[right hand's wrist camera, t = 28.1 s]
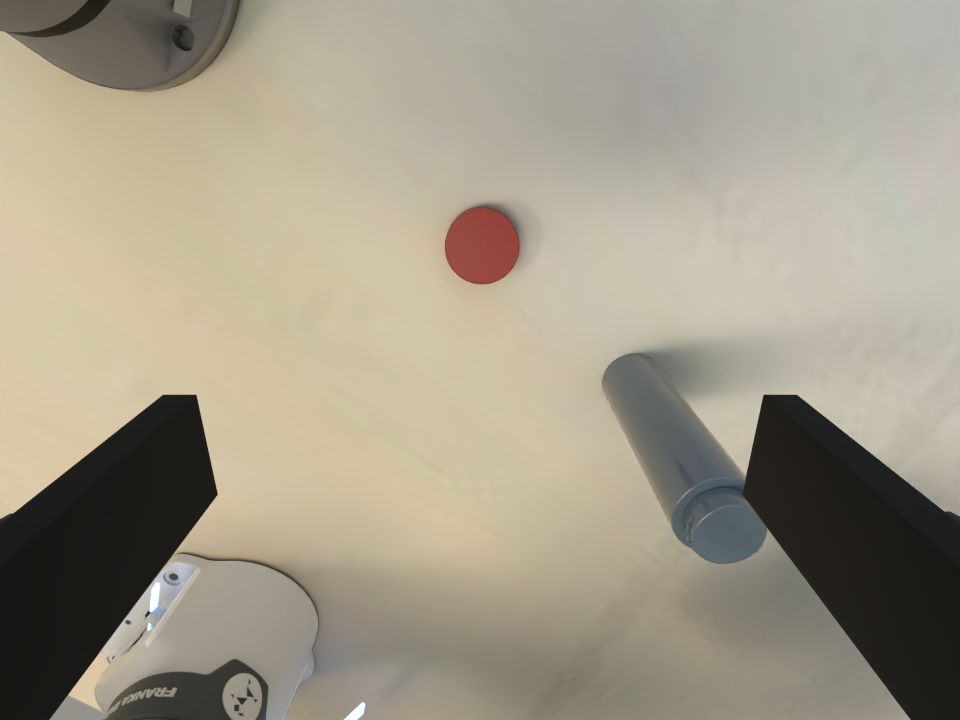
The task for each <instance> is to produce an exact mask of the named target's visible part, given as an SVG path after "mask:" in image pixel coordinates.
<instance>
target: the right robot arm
mask: <svg viewBox="0 0 960 720" xmlns="http://www.w3.org/2000/svg"><path fill="white" fill-rule="evenodd" d="M238 1H239V0H0V31H4V32H6V33H8V34H9V35H11V36H12V37H14V38H15V39H16V40H18V41H19V42H21V43H22V44H24V45H25V46H27V47H28V48H30V49H31V50H33V51H34V52H36V53H37V54H39V55H40V56H42V57H43V58H44V59H46V60H47V61H49V62H50V63H52V64H53V65H55V66H57V67H58V68H60V69H62V70H64V71H66V72H68V73H70V74H72V75H74V76H76V77H78V78H80V79H83V80H85V81H88V82H90V83H93V84H97V85H100V86H104V87H109V88H114V89H121V90H128V91H137V92H150V91H159V90H164V89H168V88H172V87H175V86H177V85H180V84H182V83H184V82H186V81H188V80H190V79H192V78H193V77H195V76H196V75H198V74H199V73H200V72H201V71H203V70H204V69H205V68H206V67H207V66H208V65H209V64H210V63H211V62H212V61H213V60H214V58H215V57H216V56H217V54H218V53H219V52H220V50H221V49H222V47H223V45H224V43H225V42H226V40H227V38H228V35H229V33H230V31H231V28H232V26H233V22H234V19H235V16H236V11H237V6H238ZM217 495H218V494H217V489H216V484H215V480H214V475H213V470H212V466H211V461H210V456H209V452H208V447H207V442H206V438H205V433H204V428H203V424H202V419H201V414H200V410H199V405H198V400H197V396H196V395H162V396H161V397H160V398H159V399H157V400H156V401H155V402H154V403H152V404H151V405H150V406H148V407H147V408H146V409H145V410H143V411H142V412H141V413H140V414H138V415H137V416H136V417H135V418H133V419H132V420H131V421H130V422H128V423H127V424H126V425H125V426H123V427H122V428H121V429H119V430H118V431H117V432H116V433H114V434H113V435H112V436H111V437H109V438H108V439H107V440H106V441H104V442H103V443H102V444H101V445H99V446H98V447H97V448H95V449H94V450H93V451H92V452H90V453H89V454H88V455H87V456H85V457H84V458H83V459H82V460H80V461H79V462H78V463H77V464H75V465H74V466H73V467H71V468H70V469H69V470H68V471H66V472H65V473H64V474H63V475H61V476H60V477H59V478H58V479H56V480H55V481H54V482H53V483H51V484H50V485H49V486H47V487H46V488H45V489H44V490H42V491H41V492H40V493H39V494H37V495H36V496H35V497H34V498H32V499H31V500H30V501H29V502H27V503H26V504H25V505H24V506H22V507H21V508H20V509H18V510H17V511H16V512H15V513H13V514H9V515H7V516H5V517H3V518H1V519H0V720H49V719H50V718H51V717H52V715H53V714H54V713H55V711H56V710H57V709H58V707H59V706H60V705H61V703H62V702H63V701H64V699H65V698H66V697H67V695H68V694H69V693H70V691H71V690H72V689H73V687H74V686H75V685H76V683H77V682H78V681H79V679H80V678H81V677H82V675H83V674H84V673H85V671H86V670H87V669H88V667H89V666H90V665H91V663H92V662H93V661H94V659H95V658H96V657H97V655H98V654H99V653H100V651H101V650H102V649H103V647H104V646H105V645H106V643H107V642H108V641H109V639H110V638H111V637H112V635H113V634H114V633H115V631H116V630H117V629H118V627H119V626H120V625H121V623H122V622H123V620H124V619H125V618H126V616H127V615H128V614H129V612H130V611H131V610H132V608H133V607H134V606H135V604H136V603H137V602H138V600H139V599H140V598H141V596H142V595H143V594H144V592H145V591H146V590H147V588H148V587H149V586H150V584H151V583H152V582H153V580H154V579H155V578H156V576H157V575H158V574H159V572H160V571H161V570H162V568H163V567H164V566H165V564H166V563H167V562H168V560H169V559H170V558H171V556H172V555H173V554H174V552H175V551H176V550H177V548H178V547H179V546H180V544H181V543H182V542H183V540H184V539H185V538H186V536H187V535H188V534H189V532H190V531H191V530H192V528H193V527H194V526H195V524H196V523H197V522H198V520H199V519H200V518H201V516H202V515H203V514H204V512H205V511H206V510H207V508H208V507H209V506H210V504H211V503H212V502H213V500H214V499H215V498H216V496H217ZM742 495H743V496H744V498H745V499H746V500H747V502H748V503H749V504H750V506H751V507H752V508H753V510H754V511H755V512H756V514H757V515H758V516H759V518H760V519H761V520H762V522H763V523H764V524H765V526H766V527H767V528H768V530H769V531H770V532H771V534H772V535H773V536H774V538H775V539H776V540H777V542H778V543H779V544H780V546H781V547H782V548H783V550H784V551H785V552H786V554H787V555H788V556H789V558H790V559H791V560H792V562H793V563H794V564H795V566H796V567H797V568H798V570H799V571H800V572H801V574H802V575H803V576H804V578H805V579H806V580H807V582H808V583H809V584H810V586H811V587H812V588H813V590H814V591H815V592H816V594H817V595H818V596H819V598H820V599H821V600H822V602H823V603H824V604H825V606H826V607H827V608H828V610H829V611H830V612H831V614H832V615H833V616H834V618H835V619H836V620H837V622H838V623H839V625H840V626H841V627H842V629H843V630H844V631H845V633H846V634H847V635H848V637H849V638H850V639H851V641H852V642H853V643H854V645H855V646H856V647H857V649H858V650H859V651H860V653H861V654H862V655H863V657H864V658H865V659H866V661H867V662H868V663H869V665H870V666H871V667H872V669H873V670H874V671H875V673H876V674H877V675H878V677H879V678H880V679H881V681H882V682H883V683H884V685H885V686H886V687H887V689H888V690H889V691H890V693H891V694H892V695H893V697H894V698H895V699H896V701H897V702H898V703H899V705H900V706H901V707H902V709H903V710H904V711H905V713H906V714H907V715H908V717H909V718H910V719H911V720H960V517H959V516H957V515H956V514H954V513H952V512H944V511H943V510H942V509H940V508H939V507H938V506H936V505H935V504H934V503H933V502H931V501H930V500H929V499H928V498H926V497H925V496H924V495H923V494H921V493H920V492H919V491H918V490H916V489H915V488H914V487H913V486H911V485H910V484H909V483H907V482H906V481H905V480H904V479H902V478H901V477H900V476H899V475H897V474H896V473H895V472H894V471H892V470H891V469H890V468H889V467H887V466H886V465H885V464H883V463H882V462H881V461H880V460H878V459H877V458H876V457H875V456H873V455H872V454H871V453H870V452H868V451H867V450H866V449H865V448H863V447H862V446H861V445H859V444H858V443H857V442H856V441H854V440H853V439H852V438H851V437H849V436H848V435H847V434H846V433H844V432H843V431H842V430H841V429H839V428H838V427H837V426H835V425H834V424H833V423H832V422H830V421H829V420H828V419H827V418H825V417H824V416H823V415H822V414H820V413H819V412H818V411H817V410H815V409H814V408H813V407H812V406H810V405H809V404H808V403H806V402H805V401H804V400H803V399H801V398H800V397H799V396H798V395H764V396H763V400H762V405H761V410H760V414H759V419H758V424H757V428H756V433H755V438H754V442H753V447H752V452H751V456H750V461H749V466H748V470H747V475H746V480H745V484H744V489H743V494H742Z"/></svg>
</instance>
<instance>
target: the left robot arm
mask: <svg viewBox="0 0 960 720" xmlns="http://www.w3.org/2000/svg"><path fill="white" fill-rule="evenodd" d="M317 632H318V617H317V613H316V610H315V607H314V605H313V603H312V601H311V600H310V598H309V597H308V595H307V594H306V593H305V592H304V591H303V590H302V589H301V588H300V587H299V586H298V585H297V584H296V583H295V582H294V581H292V580H291V579H289V578H288V577H286V576H285V575H283V574H281V573H279V572H277V571H275V570H273V569H271V568H268V567H265V566H262V565H259V564H255V563H250V562H244V561H210V560H206V559H203V558H199V557H196V556H192V555H188V554H177V555H175V556H173V557H172V558H171V559H170V560H169V561H168V563H167V564H166V565H165V566H164V567H163V568H162V570H161V571H160V572H159V574H158V575H157V576H156V578H155V579H154V580H153V582H152V583H151V584H150V586H149V587H148V588H147V590H146V591H145V592H144V594H143V595H142V596H141V598H140V599H139V600H138V602H137V603H136V604H135V606H134V607H133V608H132V610H131V611H130V612H129V614H128V615H127V616H126V618H125V619H124V620H123V622H122V623H121V625H120V626H119V627H118V629H117V630H116V631H115V633H114V634H113V635H112V637H111V638H110V639H109V641H108V642H107V643H106V645H105V646H104V647H103V649H102V650H101V652H102V654H103V656H104V657H105V659H106V660H107V661H108V663H109V666H108V667H107V669H106V670H105V672H104V673H103V674H102V676H101V677H100V679H99V681H98V682H97V684H96V686H95V698H96V701H97V703H98V705H99V707H100V709H101V710H102V711H103V713H104V715H105V716H104V718H103V720H284V717H285V715H286V713H287V711H288V708H289V706H290V704H291V701H292V699H293V697H294V694H295V692H296V690H297V687H298V685H299V683H301V682H304V681H306V680H308V679H309V678H310V677H311V675H312V673H313V670H314V667H315V662H314V657H313V653H312V648H313V644H314V642H315V639H316V636H317ZM364 707H365V703H363V702H362V703H361V704H360V705H359V706H358V707H357V708H356V709H355V710H354V711H353V712H352V713H351V714H350V715H349V716H348V717H347V718H345V719H344V720H357V719H358V718H359V717H360V716H361V715H362V714H363V712H364Z"/></svg>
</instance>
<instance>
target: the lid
mask: <svg viewBox="0 0 960 720" xmlns="http://www.w3.org/2000/svg"><path fill="white" fill-rule="evenodd" d="M445 253H446V257H447V260H448V263H449V265H450V266H451V268H452V270H453V271H454V272H455V273H456V274H457V275H458V276H459V277H461V278H462V279H464V280H466V281H468V282H471V283H475V284H489V283H493V282H496V281H498V280H500V279H502V278H503V277H505V276H506V275H507V274H508V273H509V272H510V271H511V269H512V268H513V267H514V265H515V263H516V260H517V258H518V254H519V240H518V236H517V233H516V231H515V228H514V226H513V225H512V223H511V222H510V220H509V219H508V218H507V217H506V216H505V215H504V214H502V213H501V212H499V211H497V210H495V209H492V208H487V207H477V208H472V209H469V210H467V211H465V212H463V213H462V214H460V215H459V216H458V217H457V218H456V219H455V220H454V221H453V223H452V224H451V226H450V228H449V231H448V234H447V237H446V241H445Z"/></svg>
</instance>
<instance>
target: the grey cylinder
mask: <svg viewBox="0 0 960 720" xmlns="http://www.w3.org/2000/svg"><path fill="white" fill-rule="evenodd" d="M602 386H603V391H604V393H605V395H606V397H607V399H608V401H609V403H610V405H611V407H612V409H613V411H614V413H615V415H616V417H617V419H618V421H619V423H620V425H621V427H622V429H623V431H624V433H625V435H626V437H627V439H628V441H629V443H630V445H631V447H632V449H633V451H634V453H635V455H636V457H637V459H638V461H639V463H640V465H641V467H642V469H643V471H644V473H645V475H646V477H647V479H648V481H649V483H650V485H651V487H652V489H653V491H654V493H655V495H656V498H657V500H658V502H659V504H660V506H661V508H662V510H663V512H664V514H665V516H666V518H667V520H668V522H669V524H670V526H671V528H672V530H673V532H674V534H675V535H676V537H677V538H678V539H679V540H680V541H681V542H682V543H683V544H685V545H686V546H688V547H690V548H692V549H693V551H695V552H696V553H697V554H698V555H699V556H700V557H702V558H704V559H705V560H707V561H710V562H713V563H717V564H731V563H736V562H739V561H742V560H744V559H746V558H748V557H750V556H751V555H753V554H754V553H755V552H756V553H757V551H758V550H759V549H760V548H761V546H762V544H763V542H764V540H765V538H766V534H767V527H766V526H765V524H764V523H763V522H762V520H761V519H760V518H759V516H758V515H757V514H756V512H755V511H754V510H753V508H752V507H751V506H750V504H749V503H748V502H747V500H746V499H745V498H744V496H743V495H742V494H743V489H744V484H745V480H746V476H745V474H744V473H743V472H742V471H741V469H740V468H739V467H738V466H737V464H736V463H735V462H734V461H733V459H732V458H731V457H730V456H729V454H728V453H727V452H726V451H725V449H724V448H723V447H722V446H721V444H720V443H719V442H718V441H717V439H716V438H715V437H714V436H713V434H712V433H711V432H710V431H709V429H708V428H707V427H706V426H705V424H704V423H703V422H702V421H701V419H700V418H699V417H698V416H697V414H696V413H695V412H694V411H693V409H692V408H691V407H690V406H689V404H688V403H687V402H686V401H685V399H684V398H683V397H682V396H681V394H680V393H679V392H678V391H677V389H676V388H675V387H674V386H673V384H672V383H671V382H670V381H669V379H668V378H667V377H666V376H665V374H664V373H663V372H662V371H661V369H660V368H659V367H658V366H657V364H656V363H655V362H654V361H653V360H652V359H650V358H648V357H646V356H643V355H639V354H631V355H626V356H623V357H620V358H618V359H617V360H615V361H614V362H613V363H612V364H611V365H610V366H609V367H608V368H607V370H606V371H605V374H604V376H603V381H602Z"/></svg>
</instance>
